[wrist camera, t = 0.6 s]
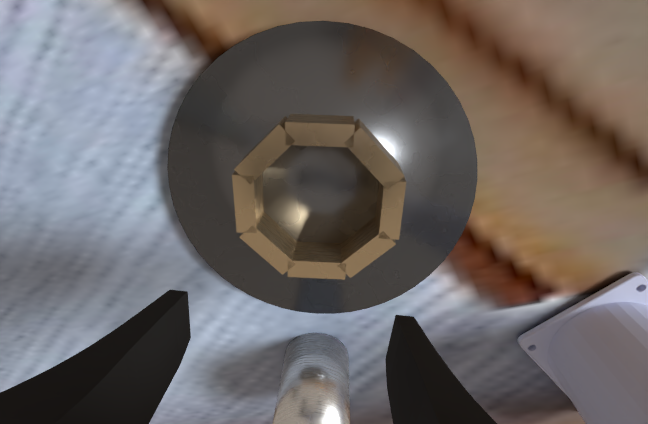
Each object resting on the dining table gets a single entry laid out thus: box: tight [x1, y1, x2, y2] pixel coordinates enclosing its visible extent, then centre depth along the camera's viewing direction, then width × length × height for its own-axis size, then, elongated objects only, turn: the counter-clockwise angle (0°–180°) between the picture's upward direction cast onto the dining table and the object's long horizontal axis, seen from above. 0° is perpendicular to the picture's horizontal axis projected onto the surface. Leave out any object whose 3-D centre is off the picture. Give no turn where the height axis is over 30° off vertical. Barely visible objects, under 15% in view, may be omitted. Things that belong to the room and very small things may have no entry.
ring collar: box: [168, 21, 477, 313], centre depth 19 cm, size 16×16×3 cm
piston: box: [273, 333, 350, 424], centre depth 23 cm, size 4×4×6 cm
